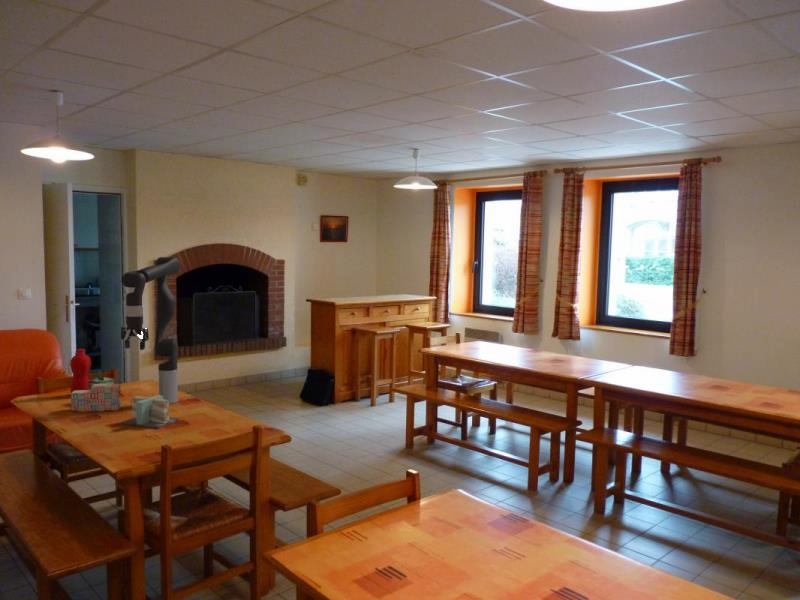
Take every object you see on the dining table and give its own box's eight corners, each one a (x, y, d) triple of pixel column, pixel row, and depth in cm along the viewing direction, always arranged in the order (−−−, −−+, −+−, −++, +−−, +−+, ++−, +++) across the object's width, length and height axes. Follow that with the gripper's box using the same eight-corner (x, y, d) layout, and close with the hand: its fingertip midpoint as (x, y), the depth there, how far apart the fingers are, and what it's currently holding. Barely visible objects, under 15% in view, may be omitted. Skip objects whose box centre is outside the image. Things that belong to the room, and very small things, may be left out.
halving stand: (144, 416, 295) (143, 393, 294) (178, 420, 288) (178, 397, 287) (122, 423, 282) (121, 400, 281) (158, 428, 275) (157, 404, 274)
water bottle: (72, 393, 336) (71, 347, 334) (93, 393, 337) (92, 347, 335) (65, 397, 327) (64, 350, 324) (87, 397, 328) (86, 350, 326)
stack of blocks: (70, 412, 300) (70, 387, 299) (74, 408, 306) (74, 384, 305) (118, 410, 304) (117, 385, 303) (121, 407, 310) (120, 383, 309)
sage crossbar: (158, 416, 292) (157, 395, 291) (163, 416, 291) (163, 395, 290) (136, 423, 279) (136, 402, 278) (142, 424, 278) (141, 402, 277)
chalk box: (115, 400, 322) (115, 372, 321) (98, 404, 314) (98, 375, 313) (105, 398, 327) (104, 370, 326) (88, 401, 319) (87, 373, 318)
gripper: (116, 314, 290) (117, 349, 292) (140, 316, 286) (141, 351, 287) (128, 313, 297) (128, 346, 299) (152, 315, 293) (152, 348, 294)
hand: (135, 349), depth 293 cm, fingers open, 8 cm apart
